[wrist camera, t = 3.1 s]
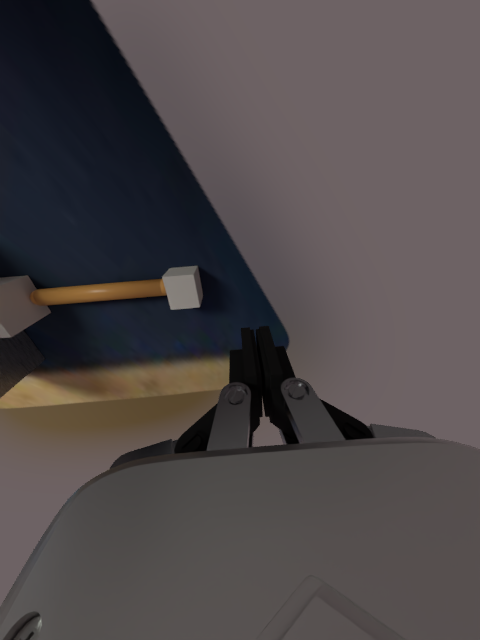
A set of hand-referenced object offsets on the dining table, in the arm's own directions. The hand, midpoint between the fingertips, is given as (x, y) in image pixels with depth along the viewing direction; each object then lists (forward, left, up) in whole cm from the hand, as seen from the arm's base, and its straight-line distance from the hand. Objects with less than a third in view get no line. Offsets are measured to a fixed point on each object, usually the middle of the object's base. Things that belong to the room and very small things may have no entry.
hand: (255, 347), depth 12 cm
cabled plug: (0, -17, -12) cm, 20 cm away
